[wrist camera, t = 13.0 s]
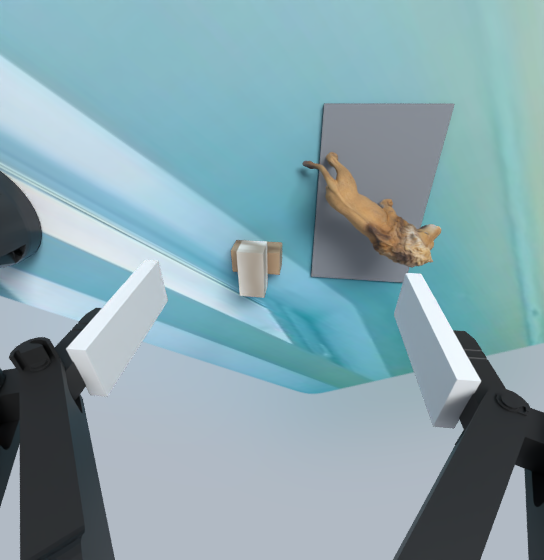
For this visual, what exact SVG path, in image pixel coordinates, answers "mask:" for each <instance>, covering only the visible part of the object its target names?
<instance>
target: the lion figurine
mask: <svg viewBox="0 0 544 560" xmlns="http://www.w3.org/2000/svg"><path fill="white" fill-rule="evenodd" d="M326 160H327V162H328V163H329V164H330V165H331V166H332V167H334V168H335V170H336V173H337V175H336V180H335V179H333V178H332V177H331V176H330V174H329V172H328V171H327V170H326V168H325V167H324V166H323V165H320V164H315V163H313V162H311V161H304V162H303V166H305V167H308V168H310V169H319V170H320V171H321V173H322V174H323V176H324V179H325V180H326V183H327V186H326V195H325V197H326V200H327V202H328V203H329V204H330V206H331V207H332V208H334V209H335V210H336V211H337V212H339V213H340V214H342V215H344V216H345V217H346V218H347V219H348V220H349V221H350V222H351V224H352V225H353V226H354V227H355V228H356V229H357V230H358V231H360V232H361V233H362V234H363V235H365V236H367V237H368V238H369V240H370V242H371V243H372V244H373V248H374V249H375V250H376V251H377V252H379V254H380V255H383V256H386V257H387V258H388V259H390V260H392V261H393V262H395V263H399V264H403V265H405V266H408V267H414V266H420V265H423V264H425V263H428V262H433V260H432V259H431V253H430V250H431V249H432V248H433V246H434V242H433V241H434V239H435V238H436V237H437V236H438V235H439V234H440V233H441V228H440V227H439V226H435V225H433V224H429V225H425V226H423V227H421V228H419V229H416V227H415V226H414V225H413V224H409V223H408V222H407V221H406V220H404V219H402V217H399V216H397V214H396V212H395V211H394V209H393V208H392V205H393V202H392V200H391V199H384V200H382V201H381V202H380V203H379V205H377V204H376V203H375V202H373V201H371V200H370V199H369V198H367V197H365V196H363V195H361V194H359V193H358V191H357V185H356V182H355V180H354V178H353V177H352V175H351V173H350V172H349V170H348V169H347V168H346V167H344V166H343V165H342V164H341V163H340V162H338V155H337V154H336V153H334V152H330V153H329V154H328V155H327V156H326Z"/></svg>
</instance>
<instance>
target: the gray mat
mask: <svg viewBox="0 0 544 560" xmlns="http://www.w3.org/2000/svg"><path fill="white" fill-rule="evenodd" d="M453 108H454V104H329V103H324V113H323V126H322V140H321V153H320V165H323V166H324V167H325V168H326V170H327V171H328V172H329V174H330V176H331V177H332V178H333V179H335V180H336V175H337V173H336V170H335V168H334V167H332V166H331V165H330V164H329V163H328V162H327V160H326V156H327V155H328V154H329V153H330V152H334V153H336V154H337V155H338V162H340V163H341V164H342V165H343V166H344V167H346V168H347V169H348V170H349V172H350V173H351V175H352V177H353V178H354V180H355V182H356V185H357V191H358V193H359V194H361V195H363V196H365V197H367V198H369V199H370V200H371V201H373V202H375V203H376V204H377V205H379V203H380V202H381V201H382V200H384V199H391V200H392V202H393V205H392V208H393V209H394V211H395V212H396V214H397V216H399V217H402V219H404V220H406V221H407V222H408V223H409V224H413V225H414V226H415V227H416V229H419V228H420V227H421V223H422V220H423V216H424V213H425V209H426V205H427V202H428V198H429V194H430V191H431V187H432V184H433V180H434V176H435V173H436V169H437V166H438V162H439V158H440V155H441V151H442V148H443V144H444V140H445V137H446V133H447V130H448V126H449V122H450V119H451V115H452V111H453ZM326 186H327V183H326V180H325V179H324V176H323V174H322V173H321V171H320V170H319V180H318V193H317V206H316V220H315V233H314V247H313V260H312V273H311V277H326V278H342V279H357V280H372V281H388V282H403V281H404V277H405V274H406V273H408V270H409V267H408V266H405V265H403V264H399V263H395V262H393V261H392V260H390V259H388V258H387V257H386V256H383V255H380V254H379V252H377V251H376V250H375V249H374V248H373V244H372V243H371V242H370V240H369V238H368V237H367V236H365V235H363V234H362V233H361V232H360V231H358V230H357V229H356V228H355V227H354V226H353V225H352V224H351V222H350V221H349V220H348V219H347V218H346V217H345V216H344V215H342V214H340V213H339V212H337V211H336V210H335V209H334V208H332V207H331V206H330V204H329V203H328V202H327V200H326V197H325V195H326Z"/></svg>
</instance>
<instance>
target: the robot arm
mask: <svg viewBox="0 0 544 560" xmlns="http://www.w3.org/2000/svg"><path fill="white" fill-rule="evenodd" d="M40 242H41V227H40V223H39V220H38V217H37V215H36V212H35V210H34V208H33V207H32V205H31V203H30V202H29V200H28V199H27V197H26V196H25V195H24V193H23V192H22V191H21V190H20V189H19V188H18V187H17V185H16V184H15V183H14V182H13V181H11V180H10V179H9V178H8V177H7V176H6V175H5V174H3V173H2V172H1V171H0V268H2V267H6V266H10V265H14V264H17V263H19V262H21V261H22V260H24V259H26V258H27V257H29V256H31V255H32V254H34V253H35V252H36V250H37V249H38V247H39V245H40ZM167 301H168V299H167V295H166V290H165V286H164V282H163V278H162V274H161V269H160V265H159V261H157V260H144V262H143V263H142V264H141V265H140V266H139V267H138V268H137V269H136V271H135V272H134V273H133V274H132V275H131V276H130V277H129V278H128V280H127V281H126V282H125V283H124V284H123V285H122V286H121V287H120V289H119V290H118V291H117V292H116V293H115V294H114V295H113V296H112V298H111V299H110V300H109V301H108V302H107V303H106V304H105V305H104V307H103V308H95V309H93V310H92V311H90V312H89V313H87V314H86V315H85V316H84V317H83V318H82V319H81V320H80V321H79V322H78V324H76V325H75V327H73V329H72V330H71V331H70V332H69V333H68V334H67V335H66V336H65V337H64V338H63V339H62V340H61V341H60V343H59V344H58V345H57V346H56V347H55V348H54V346H53V344H52V343H51V341H50V339H48V338H45V337H44V338H43V337H38V338H34V339H30V340H28V341H26V342H23V343H22V344H20V345H18V346H17V347H16V348H15V349H14V350H13V351H12V352H11V353H10V356H9V358H10V360H11V361H12V363H13V364H14V366H15V367H16V368H15V369H9V370H3V371H2V370H1V369H0V506H1V502H2V499H3V496H4V493H5V490H6V486H7V483H8V479H9V476H10V473H11V470H12V467H13V463H14V460H15V457H16V453H17V450H18V447H19V444H20V560H115V558H114V553H113V548H112V543H111V538H110V533H109V528H108V523H107V518H106V513H105V508H104V503H103V498H102V493H101V488H100V483H99V478H98V473H97V469H96V463H95V458H94V453H93V448H92V443H91V438H90V433H89V428H88V423H87V419H86V413H85V408H84V403H83V399H82V397H81V395H80V393H81V392H82V391H83V389H84V388H85V387H86V388H87V390H88V391H89V394H90V395H94V396H104V397H108V395H109V394H110V392H111V390H112V389H113V387H114V386H115V384H116V383H117V381H118V379H119V378H120V376H121V375H122V373H123V371H124V370H125V368H126V367H127V365H128V363H129V362H130V360H131V359H132V357H133V356H134V354H135V352H136V351H137V349H138V348H139V346H140V344H141V343H142V341H143V340H144V338H145V336H146V335H147V333H148V332H149V330H150V328H151V327H152V325H153V324H154V322H155V320H156V319H157V317H158V316H159V314H160V312H161V311H162V309H163V308H164V306H165V304H166V303H167ZM394 316H395V319H396V322H397V325H398V328H399V330H400V333H401V336H402V339H403V342H404V345H405V348H406V350H407V353H408V356H409V359H410V362H411V365H412V367H413V370H414V373H415V376H416V379H417V382H418V384H419V387H420V390H421V393H422V396H423V399H424V401H425V405H426V407H427V410H428V413H429V416H430V419H431V422H432V424H433V426H435V427H444V428H455V426H456V424H457V423H458V421H459V419H460V421H461V424H462V426H463V428H464V431H463V432H462V434H461V435H460V437H459V439H458V440H457V442H456V443H455V447H454V448H453V451H452V452H451V454H450V456H449V458H448V460H447V461H446V463H445V465H444V467H443V469H442V471H441V472H440V474H439V476H438V478H437V480H436V482H435V484H434V485H433V487H432V489H431V491H430V493H429V495H428V496H427V498H426V500H425V502H424V504H423V505H422V507H421V509H420V511H419V513H418V515H417V517H416V519H415V520H414V522H413V524H412V526H411V528H410V530H409V531H408V533H407V535H406V537H405V539H404V540H403V542H402V544H401V546H400V548H399V550H398V552H397V553H396V555H395V557H394V559H393V560H480V559H481V556H482V553H483V551H484V548H485V545H486V542H487V540H488V537H489V534H490V531H491V529H492V525H493V523H494V520H495V518H496V515H497V512H498V509H499V507H500V504H501V501H502V498H503V495H504V493H505V490H506V487H507V485H508V482H509V479H510V476H511V474H512V470H513V468H514V465H517V466H520V467H522V468H525V488H526V510H527V532H528V554H529V560H544V413H543V412H540V411H537V410H535V409H532V408H530V406H529V404H528V403H527V402H526V401H525V400H524V399H523V398H522V397H520V396H519V395H517V394H516V393H514V392H512V391H509V390H507V389H506V388H505V386H504V385H503V383H502V382H501V380H500V378H499V377H498V375H497V374H496V372H495V370H494V369H493V367H492V366H491V364H490V362H489V361H488V360H487V359H486V356H485V354H484V353H483V352H482V350H481V348H480V346H479V345H478V343H477V342H476V340H475V339H474V338H473V337H471V336H470V335H469V334H468V333H467V332H465V331H454V330H452V328H451V326H450V325H449V323H448V321H447V319H446V317H445V316H444V314H443V312H442V310H441V308H440V307H439V305H438V303H437V301H436V300H435V298H434V296H433V294H432V292H431V291H430V289H429V287H428V285H427V283H426V282H425V280H424V278H423V276H422V275H421V274H413V273H406V274H405V277H404V281H403V284H402V288H401V291H400V295H399V299H398V302H397V306H396V309H395V313H394Z"/></svg>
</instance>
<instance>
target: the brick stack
mask: <svg viewBox="0 0 544 560" xmlns="http://www.w3.org/2000/svg"><path fill="white" fill-rule="evenodd" d="M231 258H232V269H233V272H238V278H239V291H240V296H249V297H263V298H264V297H265V293H266V289H267V285H268V274H276V275H280V270H281V265H282V243H280V242H265V241H246V240H236V242H235V244H234V246H233V248H232V250H231Z"/></svg>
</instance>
